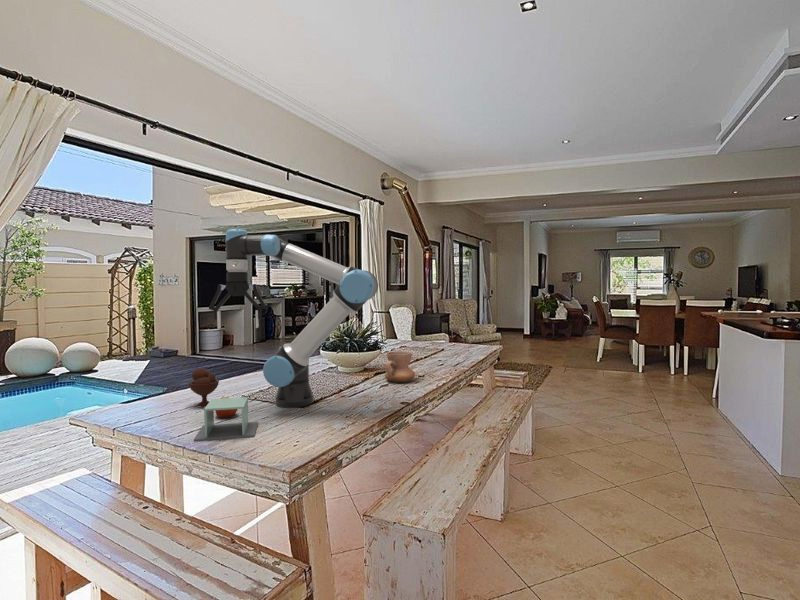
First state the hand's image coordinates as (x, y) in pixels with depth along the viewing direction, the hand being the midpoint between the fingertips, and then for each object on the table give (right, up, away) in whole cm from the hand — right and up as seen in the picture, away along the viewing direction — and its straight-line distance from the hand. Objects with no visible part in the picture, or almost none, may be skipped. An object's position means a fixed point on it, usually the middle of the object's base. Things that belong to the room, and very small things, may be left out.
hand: (238, 328), depth 176 cm
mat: (+4, -33, -22) cm, 40 cm away
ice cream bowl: (-17, -32, +10) cm, 37 cm away
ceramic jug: (+60, -29, +51) cm, 84 cm away
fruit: (-3, -32, -5) cm, 33 cm away
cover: (+4, -32, -22) cm, 39 cm away
